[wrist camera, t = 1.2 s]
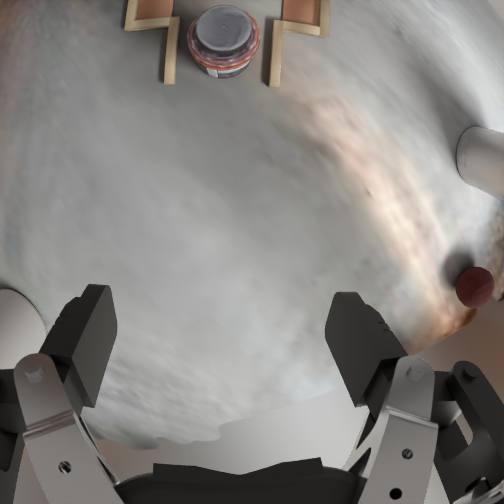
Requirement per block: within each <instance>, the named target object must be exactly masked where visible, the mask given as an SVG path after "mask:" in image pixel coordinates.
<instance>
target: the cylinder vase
mask: <svg viewBox="0 0 504 504" xmlns="http://www.w3.org/2000/svg"><path fill="white" fill-rule="evenodd" d="M45 338H46V329H45V325H44V322H43V320H42V318H41V316H40V314H39V313H38V311H37V310H36V309H35V307H34V306H33V305H32V304H31V303H30V302H29V301H28V300H27V299H26V298H25V297H23V296H22V295H21V294H19V293H17V292H15V291H13V290H9V289H1V290H0V369H14V368H15V366H16V364H17V363H18V362H19V361H20V360H21V359H22V358H23V357H25V356H27V355H29V354H33V353H38V352H39V350H40V348H41V346H42V344H43V343H44V341H45Z"/></svg>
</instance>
